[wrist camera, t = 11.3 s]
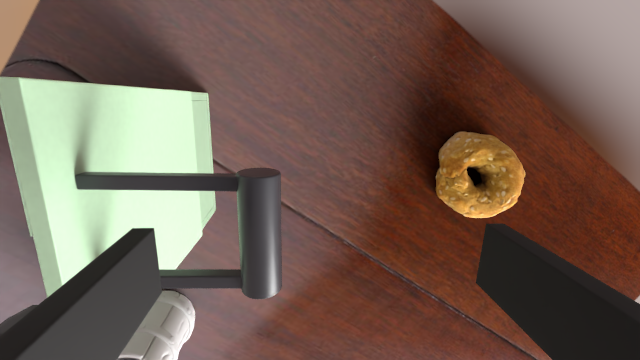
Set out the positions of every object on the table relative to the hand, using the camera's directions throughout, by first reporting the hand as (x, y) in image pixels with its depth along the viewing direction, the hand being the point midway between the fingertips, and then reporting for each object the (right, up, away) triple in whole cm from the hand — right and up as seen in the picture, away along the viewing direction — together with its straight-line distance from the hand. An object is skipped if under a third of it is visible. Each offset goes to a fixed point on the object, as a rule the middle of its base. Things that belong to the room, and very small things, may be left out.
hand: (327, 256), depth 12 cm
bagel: (+18, +4, +27) cm, 33 cm away
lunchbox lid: (-12, +2, +8) cm, 15 cm away
